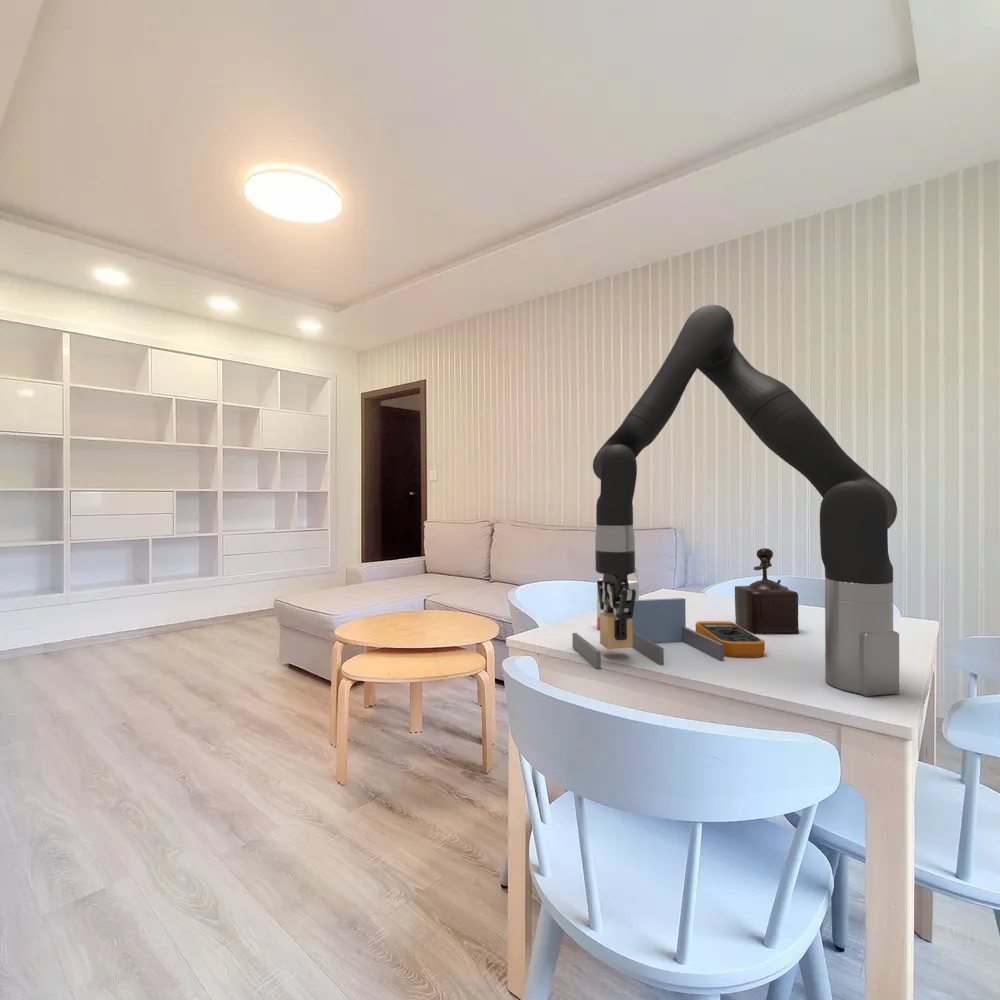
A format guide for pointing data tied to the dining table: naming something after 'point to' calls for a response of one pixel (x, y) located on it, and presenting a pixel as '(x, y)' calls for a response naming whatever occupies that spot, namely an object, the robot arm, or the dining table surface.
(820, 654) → the dining table surface
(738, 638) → the multimeter
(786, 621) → the manual coffee grinder
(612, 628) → the tan wooden cube
